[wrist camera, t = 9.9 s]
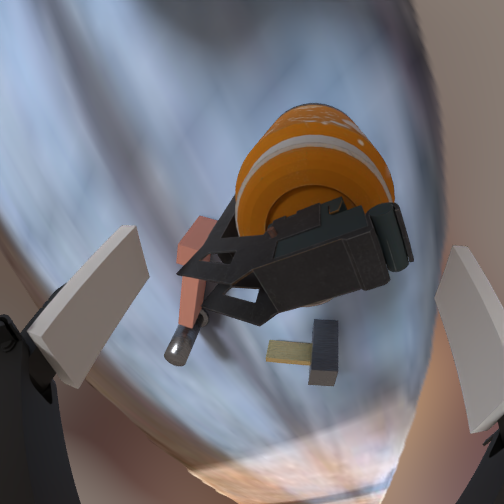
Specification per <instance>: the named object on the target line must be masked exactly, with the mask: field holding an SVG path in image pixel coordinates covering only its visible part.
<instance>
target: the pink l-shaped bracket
mask: <svg viewBox="0 0 504 504" xmlns="http://www.w3.org/2000/svg"><path fill="white" fill-rule="evenodd" d="M216 223H217V220H213V219H210V218H206V217H203V216H199V217H198V218H197V220H196V221H195V222H194V224H193V225H192V226H191V228H190V229H189V230H188V232H187V233H186V234H185V236H184V237H183V238H182V240H181V241H180V242H179V244H178V251H177V262H176V263H178V264H181V265H185V264H186V263H187V262H188V261H189V260H190V259H191V257H192V256H193V255H194V254H195V253H196V252H197V251H198V250H199V249H200V248H201V247H202V246H203V245H204V243H205V241H206V240H207V238H208V235H209V234H210V232H211V230H212V229H213V227H214V226H215V224H216ZM210 256H211V254H209V255H207V256H206V257H205V258H204V259H203V260H202V261H207V262H210ZM205 286H206V281H205V280H200V279H195V278H190V277H185V276H183V278H182V288H181V299H180V311H179V324H180V325H183V326H186V327H189V328H193V326H194V324H195V322H196V319H197V317H198V315H199V313H200V311H201V309H202V307H201V305H202V303H203V298H204V292H205Z"/></svg>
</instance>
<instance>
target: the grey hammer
mask: <svg viewBox="0 0 504 504" xmlns="http://www.w3.org/2000/svg"><path fill="white" fill-rule="evenodd" d="M266 361H267V362H277V363H287V364H298V365H310V370H309V381H308V385H321V386H334V384H335V380H336V377H337V373H338V321H332V320H317V319H314V326H313V334H312V344H310V343H297V342H286V341H275V340H269V345H268V350H267V355H266Z"/></svg>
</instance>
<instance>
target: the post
mask: <svg viewBox="0 0 504 504" xmlns="http://www.w3.org/2000/svg"><path fill="white" fill-rule="evenodd" d="M208 321H209V316H208V314H207V312H206V311H205V310H204V309H203V308H202V309H201V311H200V313H199V315H198V317H197V319H196V322H195V324H194V326H193V328H189V327H186V326H183V325H180V324H179V325H178V327H177V329H176V331H175V333H174V335H173V337H172V339H171V341H170V343H169V345H168V348H167V350H166V352H165V354H164V357H165V359H166V360H167V361H168V362H169V363H171V364H173V365H175V366H184V365H185V363H186V361H187V359H188V356H189V354H190V352H191V349H192V347H193V345H194V342H195V340H196V338H197V335H198V333H199V331H200V328H201V327H204V326H206V325H207V323H208Z"/></svg>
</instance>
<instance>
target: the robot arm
mask: <svg viewBox="0 0 504 504" xmlns="http://www.w3.org/2000/svg"><path fill="white" fill-rule="evenodd" d="M149 277H150V276H149V273H148V269H147V266H146V262H145V258H144V255H143V251H142V247H141V243H140V239H139V235H138V231H137V227H136V226H129V225H122V226H121V227H120V228H119V229H118V230H117V231H116V232H115V233H114V234H113V235H112V236H111V237H110V238H109V239H108V240H107V241H106V242H105V243H104V244H103V245H102V246H101V247H100V248H99V249H98V250H97V251H96V252H95V253H94V254H93V255H92V256H91V257H90V258H89V259H88V260H87V262H86V263H85V264H84V265H83V266H82V267H81V268H80V269H79V270H78V271H77V272H76V273H75V275H74V276H73V277H72V278H71V279H70V280H69V281H68V282H67V283H65V284H64V285H63V286H61V287H60V288H58V289H57V290H56V291H55V292H54V293H53V294H52V295H51V296H50V298H49V300H48V301H46V302H45V304H44V305H43V307H42V308H40V309H39V311H38V312H37V313H36V314H35V315H34V317H33V318H32V319H31V320H30V322H29V323H28V324H27V325H26V327H25V328H24V329H23V330H22V332H21V333H19V331H18V329H17V328H16V326H15V325H14V323H13V321H12V320H11V318H10V317H9V316H8V315H5V314H3V315H0V504H81V503H80V500H79V497H78V493H77V490H76V486H75V483H74V479H73V475H72V471H71V467H70V464H69V459H68V455H67V451H66V445H65V440H64V435H63V429H62V424H61V417H60V411H59V404H58V396H57V388H56V383H55V381H54V380H53V377H54V376H55V374H57V375H58V376H59V378H60V379H61V380H62V381H63V383H65V384H67V385H70V386H72V387H75V388H77V389H79V387H80V385H81V383H82V382H83V380H84V378H85V377H86V375H87V373H88V372H89V370H90V368H91V367H92V365H93V363H94V362H95V360H96V358H97V357H98V355H99V354H100V352H101V350H102V349H103V347H104V345H105V344H106V342H107V341H108V339H109V337H110V336H111V334H112V333H113V331H114V330H115V328H116V327H117V325H118V323H119V322H120V320H121V319H122V317H123V316H124V314H125V313H126V311H127V310H128V308H129V307H130V305H131V304H132V302H133V301H134V299H135V298H136V296H137V295H138V293H139V292H140V290H141V289H142V287H143V286H144V284H145V283H146V281H147V280H148V279H149ZM434 299H435V302H436V304H437V307H438V310H439V313H440V316H441V319H442V321H443V325H444V328H445V331H446V334H447V337H448V341H449V344H450V347H451V351H452V354H453V358H454V361H455V365H456V369H457V373H458V376H459V381H460V385H461V389H462V393H463V397H464V402H465V407H466V412H467V417H468V423H469V428H470V433H476V432H481V431H486V430H488V429H490V428H491V427H492V426H493V425H494V424H495V423H496V422H497V421H498V424H499V429H498V430H497V431H496V432H495V433H494V434H492V435H491V436H490V437H489V438H488V439H487V440H486V441H485V442H484V443H483V445H484V446H485V445H486V444H488V443H489V442H490V441H491V443H490V444H489V446H488V448H487V451H486V453H485V455H484V456H483V458H482V460H481V462H480V464H479V466H478V468H477V470H476V471H475V473H474V475H473V477H472V478H471V480H470V482H469V484H468V485H467V487H466V488H465V490H464V492H463V493H462V495H461V496H460V498H459V499H458V501H457V502H456V504H504V308H503V306H502V305H501V303H500V301H499V299H498V297H497V295H496V293H495V291H494V290H493V288H492V286H491V284H490V282H489V281H488V279H487V277H486V276H485V274H484V272H483V270H482V269H481V267H480V265H479V264H478V262H477V260H476V259H475V257H474V256H473V254H472V253H471V251H470V249H469V248H468V246H457V245H453V246H452V249H451V252H450V255H449V258H448V261H447V264H446V267H445V270H444V273H443V276H442V279H441V281H440V284H439V287H438V289H437V292H436V295H435V297H434Z"/></svg>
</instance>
